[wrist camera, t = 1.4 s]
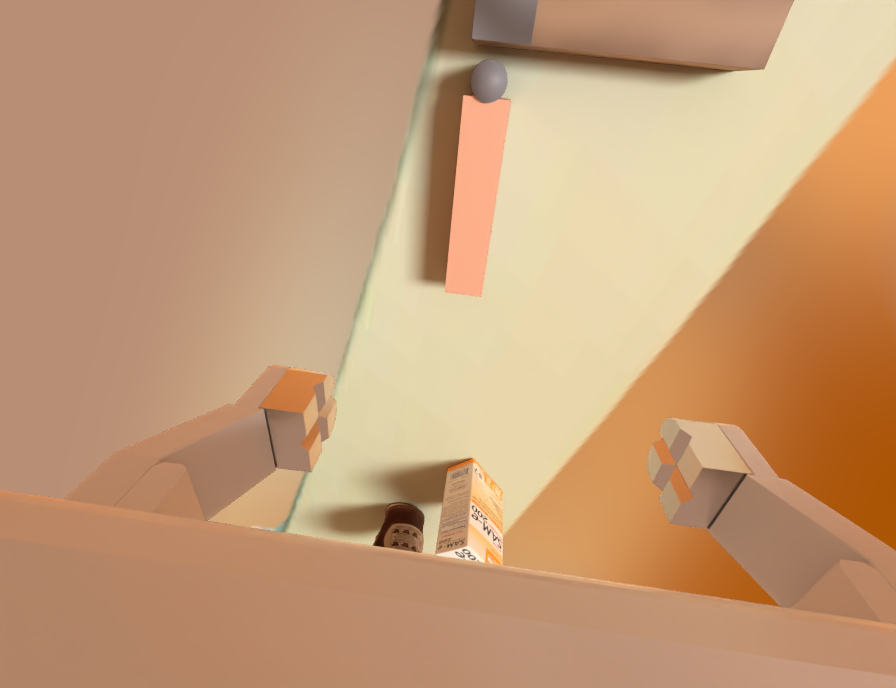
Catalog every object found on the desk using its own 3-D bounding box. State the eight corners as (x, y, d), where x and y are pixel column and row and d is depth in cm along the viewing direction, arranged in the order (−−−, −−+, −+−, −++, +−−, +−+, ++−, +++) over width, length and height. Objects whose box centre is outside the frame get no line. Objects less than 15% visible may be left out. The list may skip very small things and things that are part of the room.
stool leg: (470, 59, 31) (466, 56, 28) (514, 64, 31) (516, 61, 28) (448, 276, 41) (444, 293, 38) (482, 280, 41) (481, 297, 38)
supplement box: (504, 490, 59) (505, 583, 48) (476, 499, 61) (471, 590, 50) (474, 456, 55) (468, 547, 45) (446, 466, 57) (433, 556, 46)
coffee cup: (395, 489, 61) (372, 576, 51) (441, 511, 63) (428, 599, 52) (371, 515, 66) (345, 600, 55) (414, 535, 68) (398, 621, 57)
